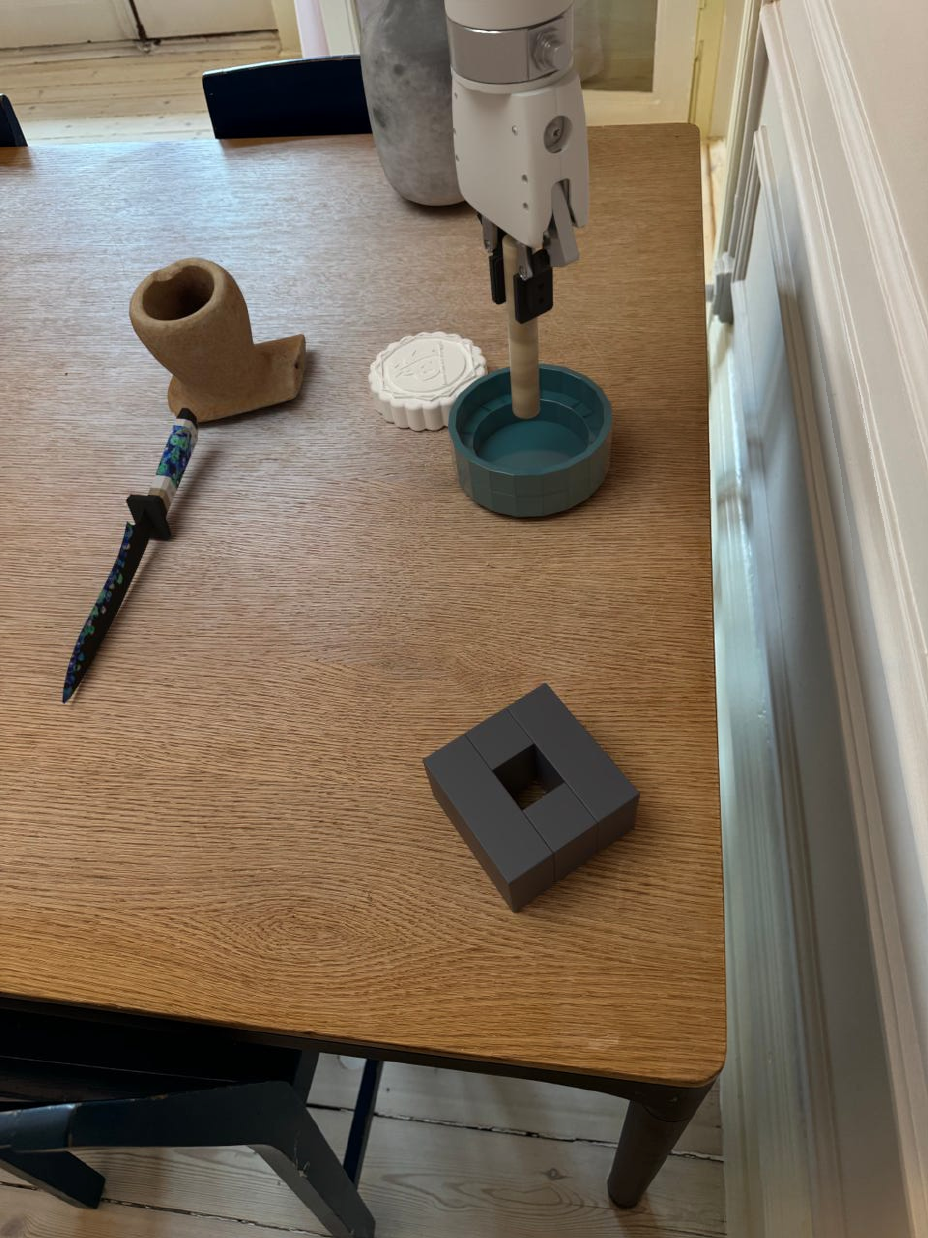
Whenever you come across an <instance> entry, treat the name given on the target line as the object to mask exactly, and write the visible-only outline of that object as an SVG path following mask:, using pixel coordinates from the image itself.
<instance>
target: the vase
mask: <svg viewBox="0 0 928 1238" xmlns="http://www.w3.org/2000/svg"><path fill="white" fill-rule="evenodd" d="M359 54H360V66H361V76H362V81H363V88H364V94H365V95H364V96H365V99H366V107H367V111H368V117H369V121H370V126H371V130H372V136H373V140H374V143H375V148H376V152H377V156H378V159H379V163H380V166H381V168H382V172H383V173H384V176H385V178H386V180H387V182H388V183H389V185H390V186H391V187H392V189H393V190H394V191H395V192H396V193H397V194H398V195H400V196H401V197H403V198H405V199H406V200H408V201H410V202H412V203H416V204H420V205H425V206H432V207H433V206H435V207H437V206H449V205H454V204H459V203H462V202H465V201H466V200H465V199H464V197H463V195H462V194H461V191H460V187H459V182H458V176H457V169H456V161H455V149H454V134H453V112H452V74H451V63H450V53H449V42H448V32H447V22H446V11H445V2H444V0H384V1H382V2H381V3H380V4H378V5H377V6H376V7H374V8H373V9H372V10H371V12H370V13H369V14H368V15H367V16H366V18H365V20H364V22H363V25H362V27H361V31H360V39H359Z"/></svg>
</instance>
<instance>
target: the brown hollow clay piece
mask: <svg viewBox="0 0 928 1238" xmlns="http://www.w3.org/2000/svg"><path fill="white" fill-rule="evenodd" d="M128 305H129V307H128V316H129V321H130V324H131V326H132V329H133V331H134V333H135V334H136V336H137V337H138V339H139V340H140V342H141V343H142V344H143V346H144V347H145V348H146V350H147V351H148V353H150V355H151V356H152V357H153V358H154V359H155V361H157V362H158V363H159V364H160V365H161V366H162V367H163V368H165V369H166V370H167V371H168V372H169V373H170V374H171V375H172V376H171V380H170V382H169V385H168V388H167V403H168V404H167V405H168V408H169V411H170V412H171V413H172V414H174V416H175V418H176V417H177V416H178V414H179V412H180V410H181V408H189V409H190V410H191V411H192V413H193V414H194V415H195V416H196V417H197V423H201V422H203V423H204V422H209V421H215V420H219V419H224V418H228V417H232V416H236V415H240V414H243V413H247V412H251V411H256V410H259V409H262V408H267V407H269V406H273V405H277V404H281V403H284V402H286V401H290V400H293V399H295V398H296V397H297V396H298V393H299V392H300V391H301V387H302V382H303V380H304V377H303V375H304V373H305V370H306V364H307V362H306V361H307V359H306V358H307V340H306V336H305V334H303V333H299V334H295V335H291V336H287V337H282V338H276V339H272V340H266V341H262V342H259V343H254V338H253V330H252V324H251V319H250V314H249V309H248V305H247V302H246V300H245V297H244V294H243V292H242V290H241V289H240V287H239V284H238V283H237V281H236V280H235V278H234V276H233V275H232V274H231V273H230V272H229V270H226V269H225V268H224V267H222V266H221V265H220V264H218V263H216V262H214V261H213V260H209V259H205V258H199V257H187V258H182V259H179V260H176V261H174V262H173V263H171V264H170V265H168V266H165V267H163V268H160V269H156V270H154V271H153V272H151V273H150V274H149V275H148V274H147V276H146V277H145V278H143V280H142V281H140V282H139V284H138V286H137V287H136V289H135V290H134V291H133V293H132V296H131V298H130V300H129V304H128Z"/></svg>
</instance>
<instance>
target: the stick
mask: <svg viewBox="0 0 928 1238" xmlns="http://www.w3.org/2000/svg"><path fill="white" fill-rule="evenodd" d="M502 244H503V260H504V277H505V293H506V302H505V308H506V309H505V310H506V325H507V338H508V339H507V340H508V352H509V353H508V354H509V355H508V357H509V366H510V374H511V391H512V407H513V413H514V414H515V415H516V416H517V417H519V418H523V419H528V418H532V417H534V416H536V415H537V414H538V413H539V411H540V387H539V363H540V357H539V356H540V354H539V353H540V352H539V319H538V317H539V316H538V317H536V318H534V319H532V320H530V321H528V322H526V323H524V324H520V323H519V322H517V321H516V320H515V306H514V287H513V275H515V274H517V273H519V272H518V265H517V252H516V239H515V238H514V237H512V236H511V235H509V234H507V235H505V236H504V238H503V240H502ZM536 251H537V248H533V247H532V255H533V254H534V253H535V252H536Z"/></svg>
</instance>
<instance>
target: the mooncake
mask: <svg viewBox="0 0 928 1238" xmlns="http://www.w3.org/2000/svg"><path fill="white" fill-rule="evenodd" d="M369 371H370V373H369V374H368V375H367V381H368V385H369V389H370V394H371V397H372V401H373V403H374V408H375V410H376V412H377V413H379V414H380V415H382V418H383V419H384V420H385V421H386V422H388V423H394V424H395V426H396V427H398V428H400V429H408V428H409V429H410V430H412V431H415V432H421V431H424V430H426V429H427V430H428V431H438V430H440V429H442V428H443V427H448V421H449V411H450V409H451V408H452V406H453V404H454V402H455V400H456V399H457V397H458V395H459V394H460V393H461V392H462V391H463V390H464V389H466V388H467V387H468V386H469V385H470V384H471V383H472V382H473V381H475V380H477V379H479V378H481V377H483V376H485V375H487V374H489V373H488V363H487V359H486V358H485V357H484V353H483V350H482V349H481V348H480V347H479V346H477V345H475V343H474V341H473V340H471V339H469V338H462V336H461V335H459V334H457V333H446V332H444V331H440V330H439V331H434V332H431V333H430V332H428V331H423V332H419V333H417V334H415V335H406V336H404V337H402V338H401V339H400V340H399V341H393V342H391V343H389V344H388V345H387V346H386V348H385V349H383V350H382V351H379V352H378V353H377V354H376V357H375V360H374V361H372V363H371V364H370V365H369Z"/></svg>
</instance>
